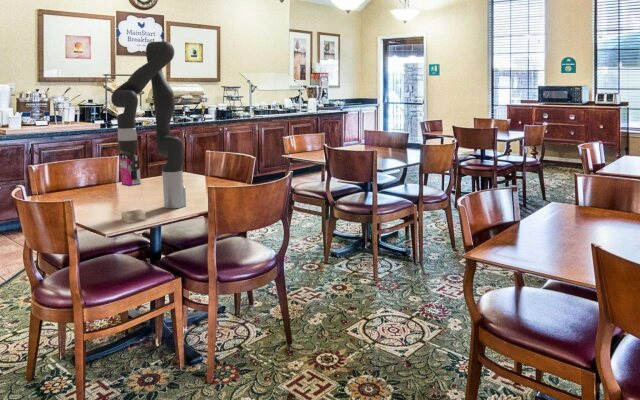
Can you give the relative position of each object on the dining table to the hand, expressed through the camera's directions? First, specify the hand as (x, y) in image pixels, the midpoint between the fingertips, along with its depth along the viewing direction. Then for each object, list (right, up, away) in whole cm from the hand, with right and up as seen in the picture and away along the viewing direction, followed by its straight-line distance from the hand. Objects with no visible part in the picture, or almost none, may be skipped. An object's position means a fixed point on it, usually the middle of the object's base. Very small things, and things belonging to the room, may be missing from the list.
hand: (130, 178), depth 229 cm
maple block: (0, -18, +4) cm, 18 cm away
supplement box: (0, -3, +1) cm, 3 cm away
